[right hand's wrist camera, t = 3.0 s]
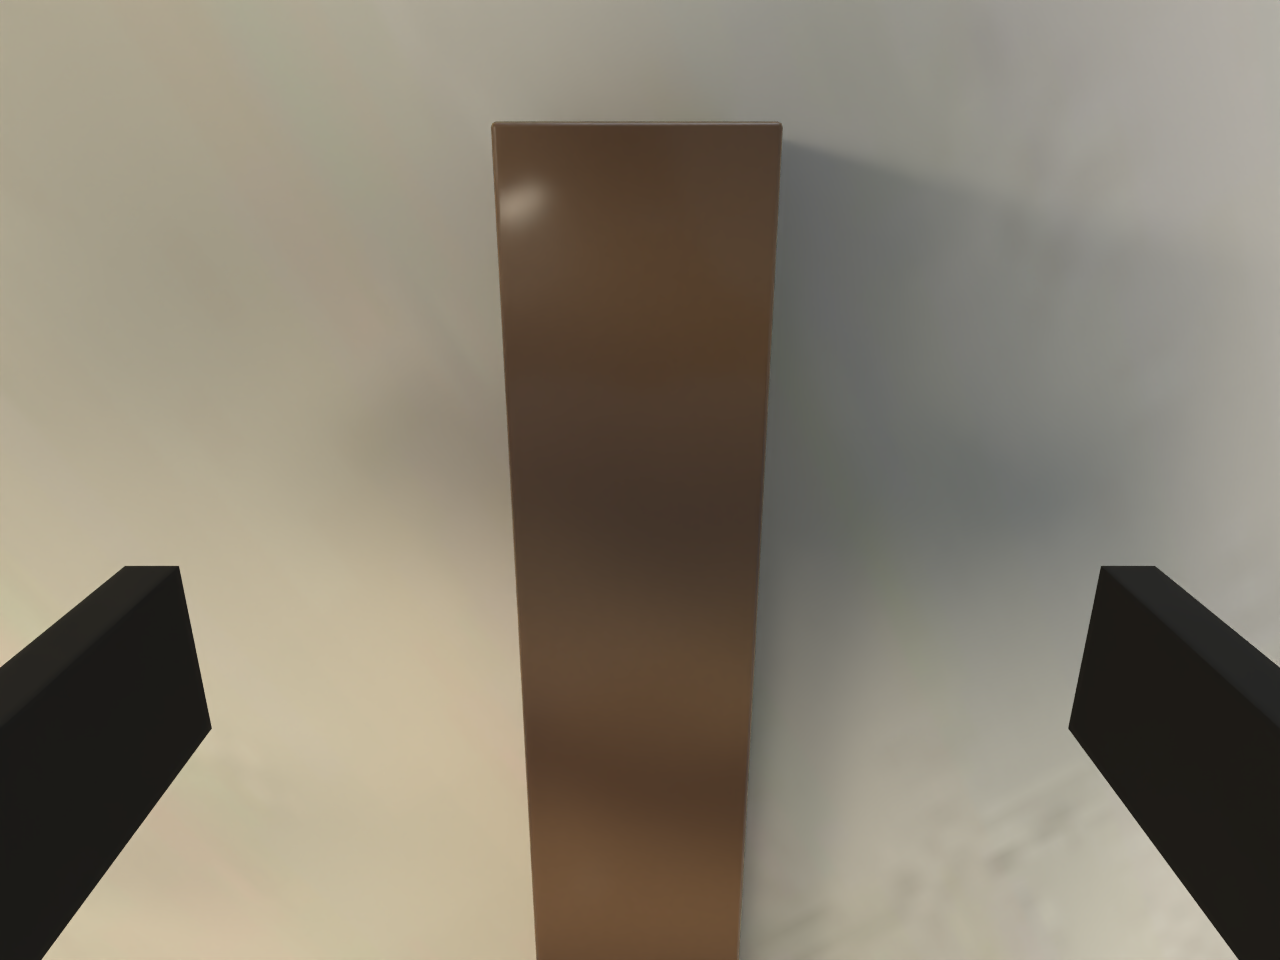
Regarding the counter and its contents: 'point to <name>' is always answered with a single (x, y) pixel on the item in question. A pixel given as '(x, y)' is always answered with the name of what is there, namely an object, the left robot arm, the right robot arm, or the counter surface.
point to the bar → (637, 515)
